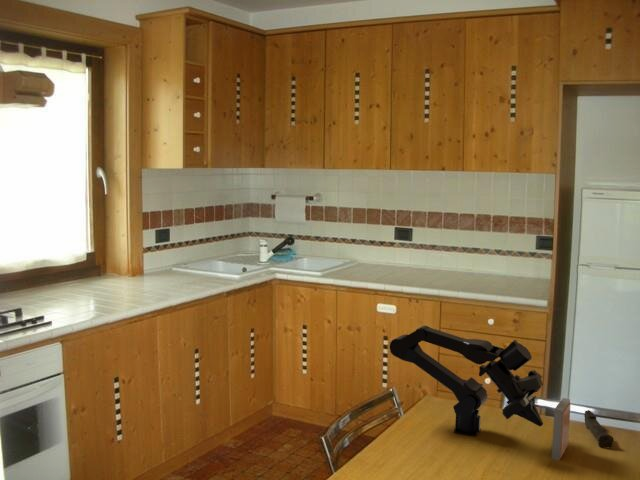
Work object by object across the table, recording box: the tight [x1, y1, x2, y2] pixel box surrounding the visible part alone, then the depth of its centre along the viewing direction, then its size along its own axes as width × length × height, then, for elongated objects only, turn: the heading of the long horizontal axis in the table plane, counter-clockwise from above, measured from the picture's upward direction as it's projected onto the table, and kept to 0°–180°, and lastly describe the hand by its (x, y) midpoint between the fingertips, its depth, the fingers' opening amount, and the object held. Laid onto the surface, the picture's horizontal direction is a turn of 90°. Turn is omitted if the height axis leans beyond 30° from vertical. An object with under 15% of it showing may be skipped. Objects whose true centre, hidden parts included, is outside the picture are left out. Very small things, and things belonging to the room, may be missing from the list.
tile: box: [551, 397, 572, 461], centre depth 183 cm, size 2×10×14 cm, turn 149°
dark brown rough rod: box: [584, 409, 614, 448], centre depth 197 cm, size 19×4×5 cm, turn 172°
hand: (541, 425), depth 186 cm, fingers closed
